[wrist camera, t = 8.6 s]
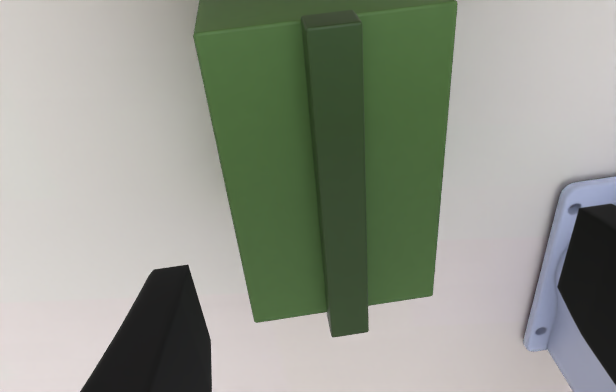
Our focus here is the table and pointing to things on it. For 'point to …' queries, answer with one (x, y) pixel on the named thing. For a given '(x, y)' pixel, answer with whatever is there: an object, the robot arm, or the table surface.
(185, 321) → the robot arm
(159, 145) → the table surface
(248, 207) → the green block
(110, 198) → the table surface
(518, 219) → the table surface
